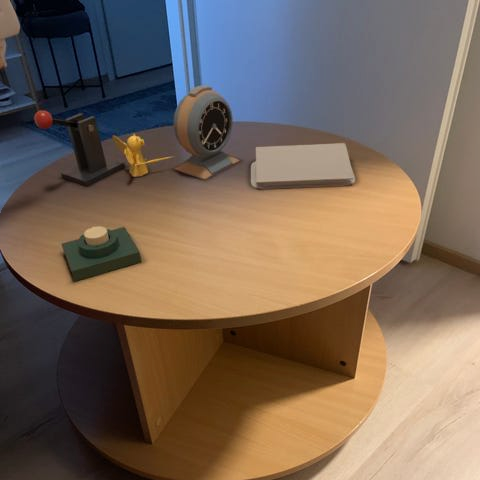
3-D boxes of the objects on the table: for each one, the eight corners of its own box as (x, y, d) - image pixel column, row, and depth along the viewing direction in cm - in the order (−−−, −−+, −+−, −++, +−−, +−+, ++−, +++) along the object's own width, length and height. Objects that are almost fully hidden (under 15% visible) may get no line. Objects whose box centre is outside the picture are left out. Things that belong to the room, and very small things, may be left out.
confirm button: (89, 249, 88) (86, 240, 87) (84, 238, 91) (81, 230, 89) (111, 242, 89) (109, 234, 88) (106, 232, 92) (103, 224, 91)
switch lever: (40, 129, 104) (42, 110, 103) (30, 126, 105) (31, 107, 104) (91, 136, 114) (93, 119, 113) (81, 133, 116) (82, 117, 115)
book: (251, 160, 121) (250, 144, 119) (347, 156, 120) (348, 140, 117) (250, 189, 110) (250, 172, 107) (357, 185, 108) (359, 168, 106)
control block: (75, 281, 87) (68, 262, 84) (64, 253, 94) (58, 234, 91) (141, 261, 90) (137, 242, 88) (126, 236, 97) (122, 218, 95)
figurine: (181, 173, 118) (176, 136, 112) (131, 185, 114) (123, 147, 108) (165, 155, 126) (159, 120, 120) (118, 166, 123) (110, 130, 117)
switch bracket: (87, 186, 115) (72, 130, 107) (62, 177, 119) (45, 123, 111) (125, 167, 122) (113, 112, 114) (100, 159, 126) (87, 106, 118)
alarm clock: (201, 181, 114) (192, 100, 102) (171, 171, 119) (160, 92, 107) (242, 159, 122) (238, 81, 110) (213, 150, 127) (206, 75, 115)
